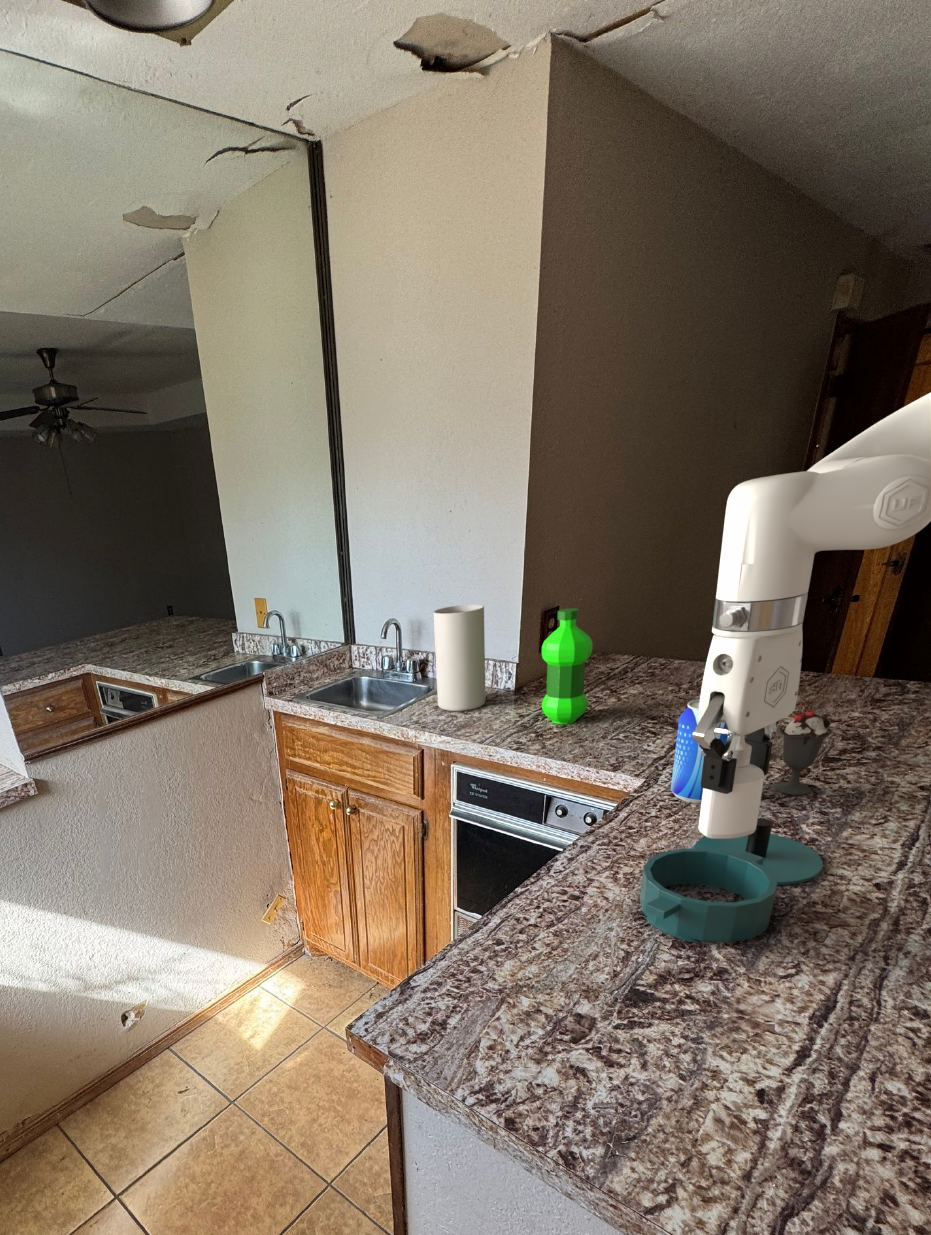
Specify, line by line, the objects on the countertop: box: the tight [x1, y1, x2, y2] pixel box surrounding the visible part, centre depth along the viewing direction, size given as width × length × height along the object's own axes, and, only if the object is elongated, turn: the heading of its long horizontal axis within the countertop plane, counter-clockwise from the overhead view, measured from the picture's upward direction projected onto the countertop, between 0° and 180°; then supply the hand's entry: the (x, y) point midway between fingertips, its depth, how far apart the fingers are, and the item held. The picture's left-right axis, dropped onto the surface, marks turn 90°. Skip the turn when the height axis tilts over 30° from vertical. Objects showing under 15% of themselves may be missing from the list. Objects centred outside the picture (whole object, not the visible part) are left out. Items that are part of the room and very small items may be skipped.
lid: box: [693, 817, 824, 886], centre depth 87 cm, size 15×15×6 cm
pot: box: [639, 848, 778, 945], centre depth 79 cm, size 14×19×6 cm
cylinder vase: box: [433, 603, 486, 712], centre depth 169 cm, size 12×12×25 cm
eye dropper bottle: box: [698, 735, 765, 839], centre depth 73 cm, size 4×6×12 cm
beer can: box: [670, 698, 728, 804], centre depth 104 cm, size 8×8×16 cm
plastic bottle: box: [541, 607, 594, 725], centre depth 146 cm, size 10×10×25 cm
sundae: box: [773, 701, 833, 796], centre depth 103 cm, size 7×7×15 cm
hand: (733, 780), depth 72 cm, fingers closed on eye dropper bottle, 5 cm apart
